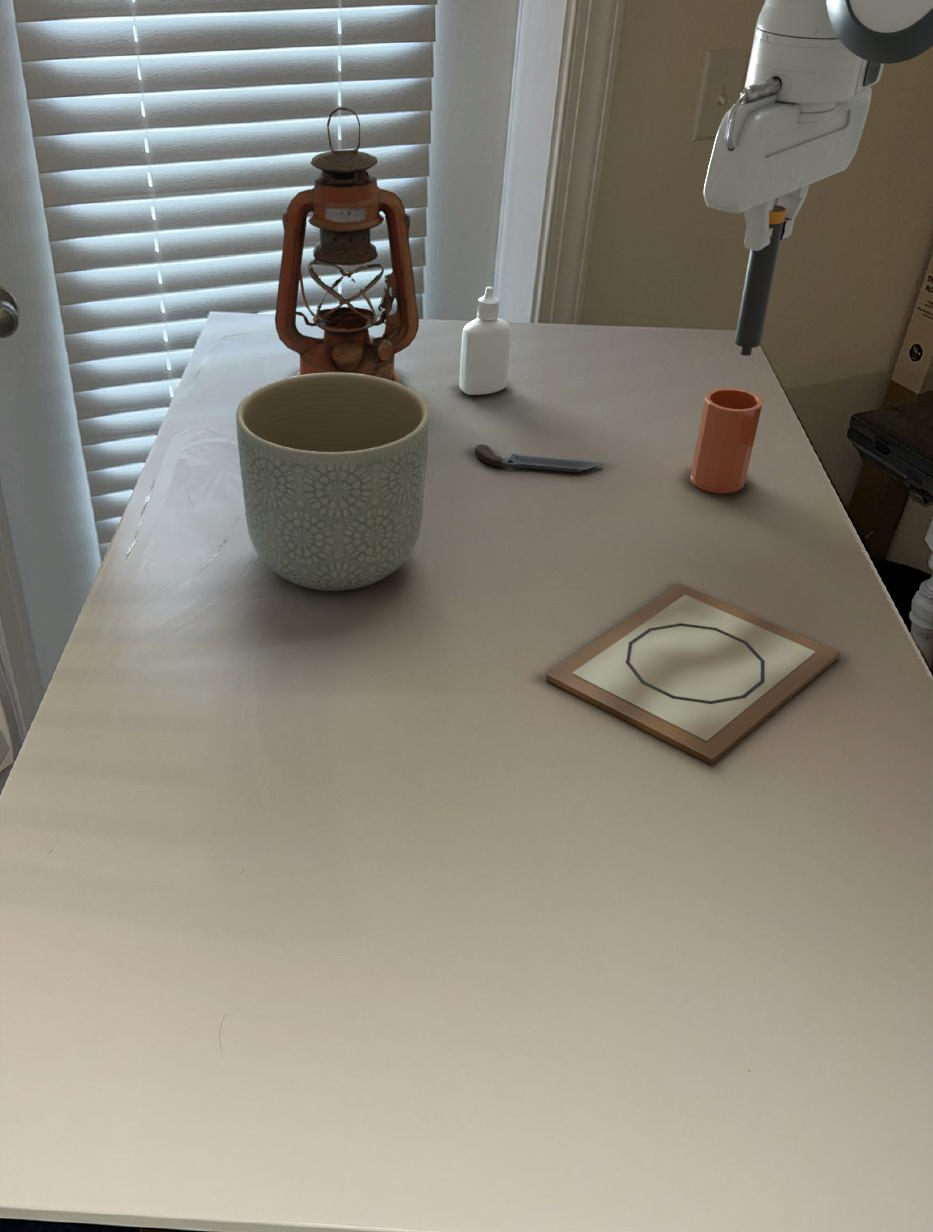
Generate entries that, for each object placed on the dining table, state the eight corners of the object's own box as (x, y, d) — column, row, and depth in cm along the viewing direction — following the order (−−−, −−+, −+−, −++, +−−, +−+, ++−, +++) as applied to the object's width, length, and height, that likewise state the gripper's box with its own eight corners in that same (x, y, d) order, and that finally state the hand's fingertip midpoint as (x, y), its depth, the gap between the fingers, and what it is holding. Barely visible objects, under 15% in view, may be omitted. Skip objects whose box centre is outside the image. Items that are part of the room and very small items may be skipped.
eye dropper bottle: (460, 380, 151) (465, 280, 143) (506, 383, 151) (514, 282, 143) (458, 395, 148) (463, 293, 140) (505, 397, 147) (513, 295, 140)
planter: (237, 610, 112) (225, 453, 102) (254, 519, 125) (245, 371, 115) (424, 613, 112) (431, 454, 102) (422, 521, 125) (427, 372, 115)
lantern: (274, 405, 146) (261, 123, 127) (280, 361, 156) (270, 94, 137) (418, 405, 146) (427, 123, 126) (415, 362, 156) (424, 94, 136)
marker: (764, 353, 118) (791, 208, 110) (750, 360, 117) (777, 214, 109) (740, 347, 119) (766, 203, 111) (727, 354, 118) (751, 209, 110)
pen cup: (755, 480, 131) (773, 398, 125) (725, 499, 128) (743, 416, 122) (708, 463, 134) (724, 383, 128) (679, 481, 131) (694, 399, 125)
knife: (471, 465, 134) (471, 459, 133) (476, 449, 137) (476, 443, 136) (602, 477, 132) (603, 471, 131) (604, 460, 135) (605, 454, 134)
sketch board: (838, 658, 106) (841, 650, 106) (711, 765, 95) (713, 757, 95) (678, 588, 115) (680, 581, 114) (545, 679, 104) (546, 672, 104)
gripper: (773, 96, 95) (736, 280, 104) (895, 56, 107) (852, 226, 116) (702, 83, 99) (672, 262, 108) (827, 46, 110) (791, 211, 119)
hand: (766, 243), depth 112 cm, fingers closed on marker, 2 cm apart
